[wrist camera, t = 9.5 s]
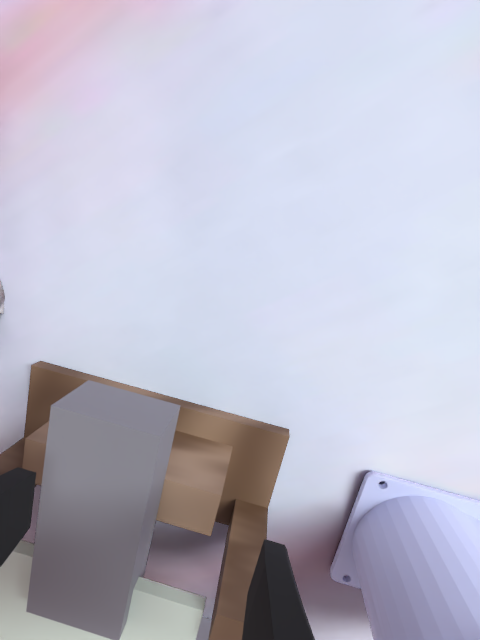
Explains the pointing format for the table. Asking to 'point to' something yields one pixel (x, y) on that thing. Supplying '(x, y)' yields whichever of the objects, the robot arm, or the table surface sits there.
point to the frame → (187, 478)
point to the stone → (1, 298)
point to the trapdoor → (98, 527)
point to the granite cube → (204, 629)
